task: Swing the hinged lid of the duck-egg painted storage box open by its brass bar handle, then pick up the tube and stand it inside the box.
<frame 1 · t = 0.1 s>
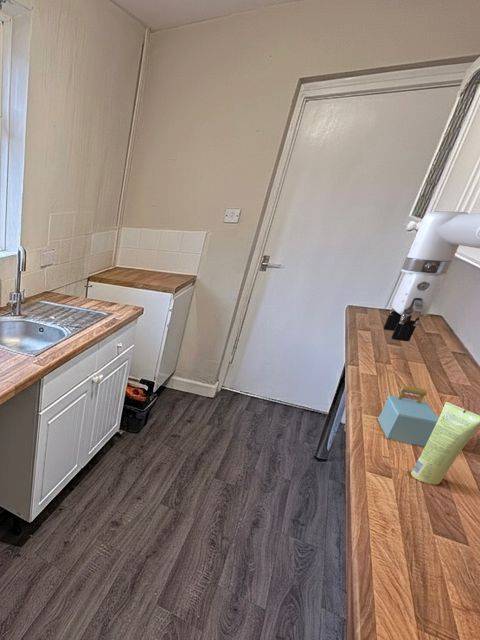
hand: (395, 335, 105), 31 cm above the worktop, tool pointing down, fingers open, 9 cm apart
tube: (424, 480, 100), on the worktop
chest lid: (415, 402, 115), point 10 cm above the worktop, hinge at 0.0°
chest: (400, 433, 119), on the worktop
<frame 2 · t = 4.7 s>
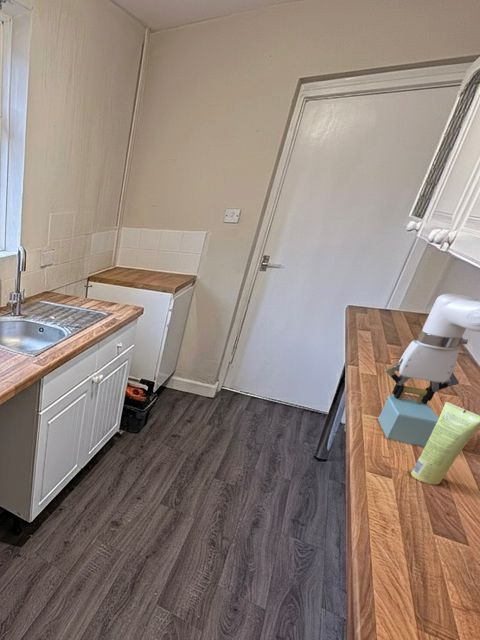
hand: (409, 398, 119), 9 cm above the worktop, tool pointing down, fingers closed on chest lid, 5 cm apart
chest lid: (415, 402, 115), point 10 cm above the worktop, hinge at 0.0°, touching gripper
everything else where it was.
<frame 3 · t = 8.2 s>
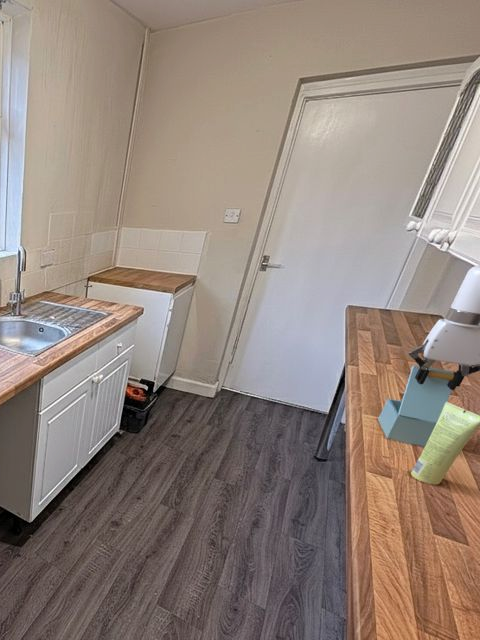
hand: (435, 384, 107), 18 cm above the worktop, tool pointing down, fingers closed on chest lid, 5 cm apart
chest lid: (430, 393, 108), point 15 cm above the worktop, hinge at 65.9°, touching gripper
everything else where it was.
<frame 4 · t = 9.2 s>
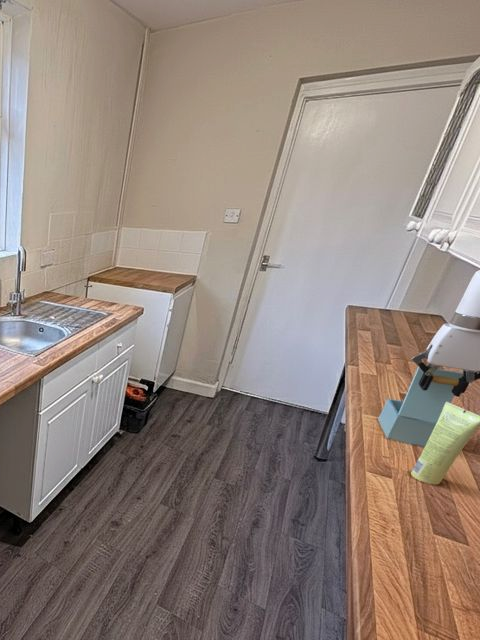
hand: (439, 390, 104), 18 cm above the worktop, tool pointing down, fingers closed on chest lid, 5 cm apart
chest lid: (432, 396, 107), point 15 cm above the worktop, hinge at 83.1°, touching gripper
everything else where it was.
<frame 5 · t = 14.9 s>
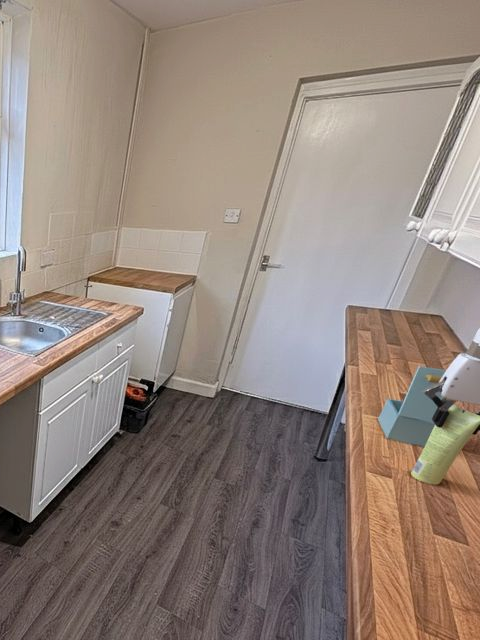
hand: (454, 427, 94), 15 cm above the worktop, tool pointing down, fingers closed on tube, 4 cm apart
tube: (424, 480, 100), on the worktop, touching gripper
chest lid: (432, 397, 107), point 15 cm above the worktop, hinge at 83.4°
when the fingers open (15 cm above the worktop, at t = 25.7 s): tube stays where it is, resting on chest.
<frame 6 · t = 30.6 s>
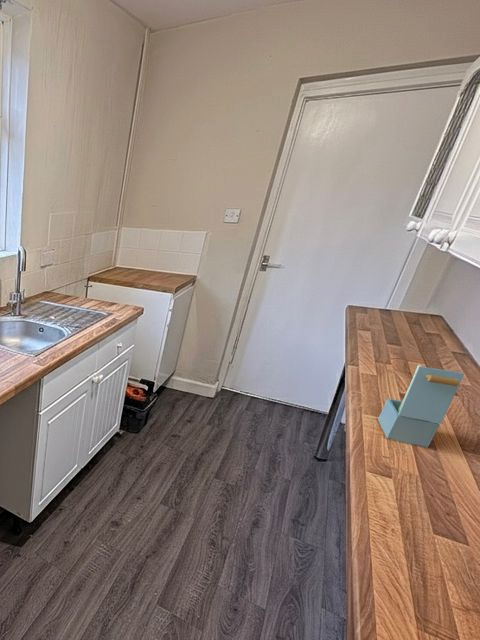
tube: (401, 432, 119), resting on chest
everything else where it was.
at the end: chest lid at +83° (first picture: +0°); tube inside the target area in the chest (0.1 cm from its centre), point 0.4 cm above the chest's base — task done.
